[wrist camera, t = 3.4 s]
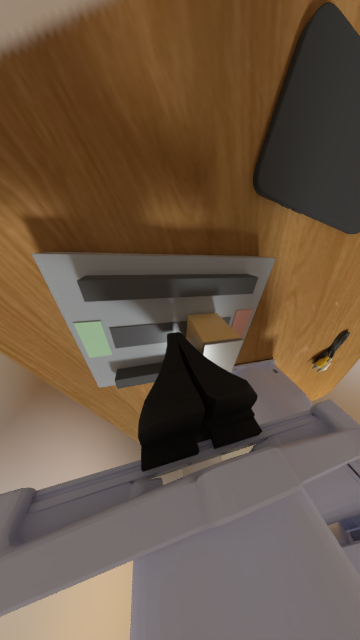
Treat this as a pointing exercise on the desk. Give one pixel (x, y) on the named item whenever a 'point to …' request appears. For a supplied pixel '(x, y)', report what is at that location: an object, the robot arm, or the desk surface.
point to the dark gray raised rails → (159, 288)
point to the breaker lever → (214, 339)
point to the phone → (317, 127)
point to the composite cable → (329, 353)
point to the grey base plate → (143, 304)
